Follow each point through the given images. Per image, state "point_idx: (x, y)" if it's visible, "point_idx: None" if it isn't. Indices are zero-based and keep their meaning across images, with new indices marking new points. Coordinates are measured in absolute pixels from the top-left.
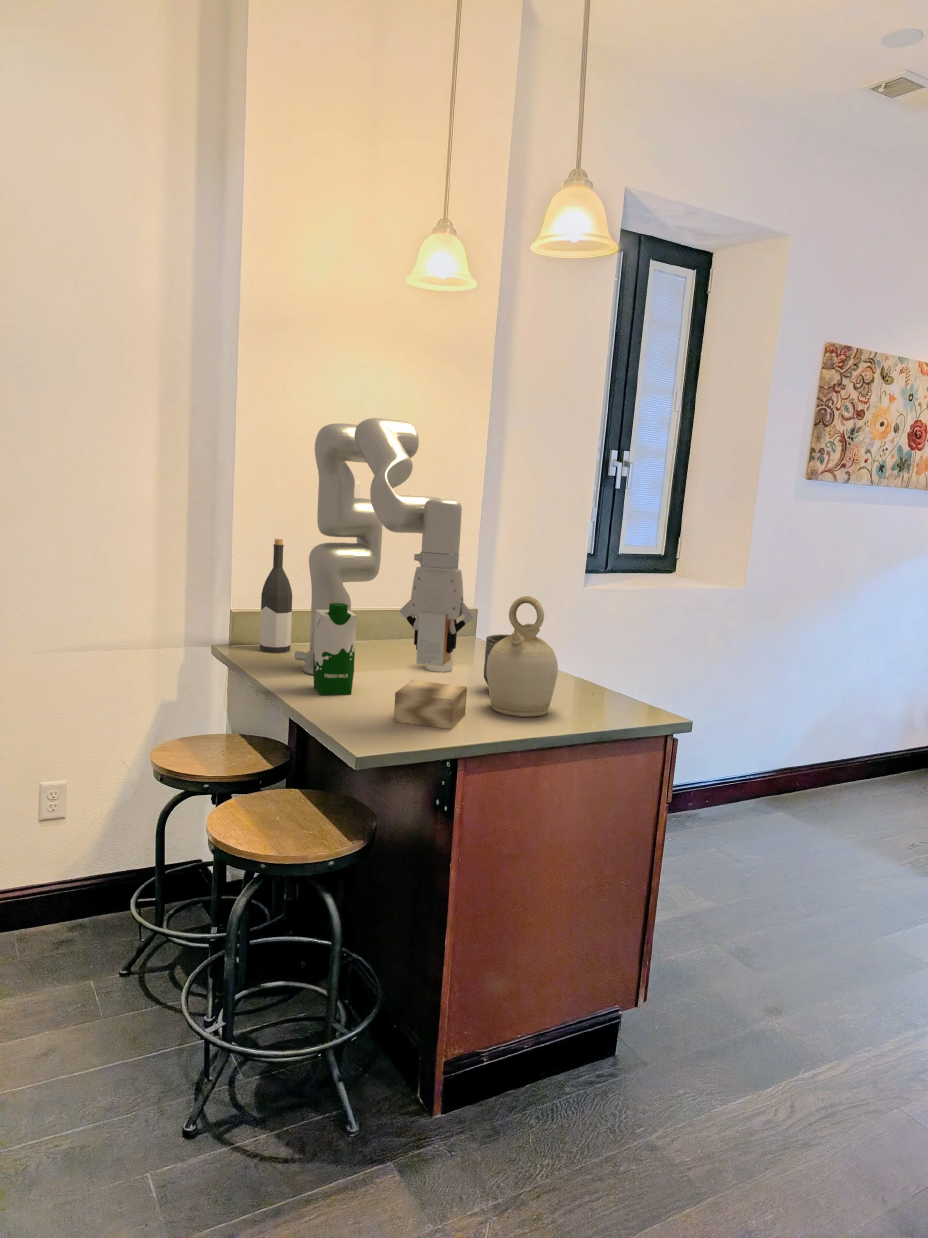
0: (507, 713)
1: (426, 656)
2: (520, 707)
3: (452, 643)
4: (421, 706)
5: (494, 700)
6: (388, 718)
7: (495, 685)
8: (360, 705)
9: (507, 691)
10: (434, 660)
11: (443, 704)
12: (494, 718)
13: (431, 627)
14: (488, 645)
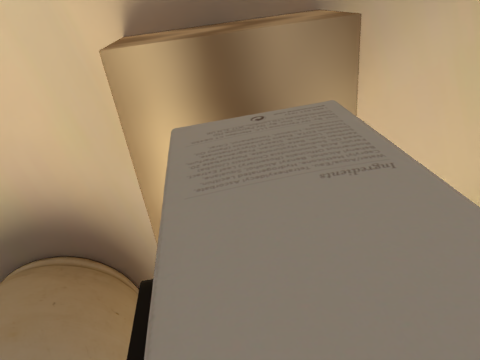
0: (68, 259)
1: (286, 124)
2: (19, 276)
3: (150, 300)
4: (237, 27)
5: (109, 284)
6: None
7: (89, 312)
8: (451, 124)
9: (41, 298)
10: (226, 127)
11: (147, 41)
12: (83, 216)
13: (344, 280)
14: None
